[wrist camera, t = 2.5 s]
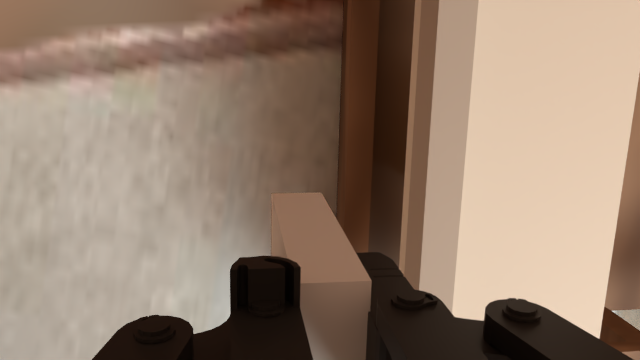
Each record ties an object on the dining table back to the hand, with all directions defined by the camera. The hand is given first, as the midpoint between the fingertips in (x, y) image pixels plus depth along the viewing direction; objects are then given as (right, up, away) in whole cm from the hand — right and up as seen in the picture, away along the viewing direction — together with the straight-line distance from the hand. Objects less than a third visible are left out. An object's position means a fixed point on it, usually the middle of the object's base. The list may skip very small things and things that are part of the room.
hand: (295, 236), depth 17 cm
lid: (+9, +2, +9) cm, 13 cm away
